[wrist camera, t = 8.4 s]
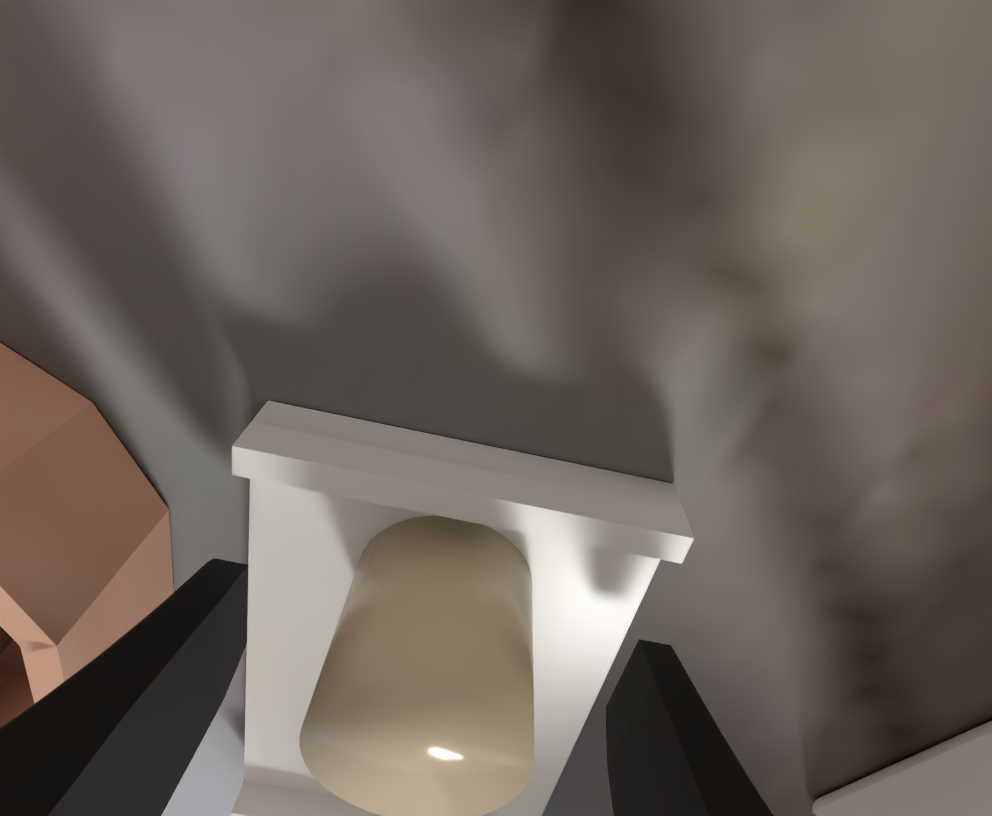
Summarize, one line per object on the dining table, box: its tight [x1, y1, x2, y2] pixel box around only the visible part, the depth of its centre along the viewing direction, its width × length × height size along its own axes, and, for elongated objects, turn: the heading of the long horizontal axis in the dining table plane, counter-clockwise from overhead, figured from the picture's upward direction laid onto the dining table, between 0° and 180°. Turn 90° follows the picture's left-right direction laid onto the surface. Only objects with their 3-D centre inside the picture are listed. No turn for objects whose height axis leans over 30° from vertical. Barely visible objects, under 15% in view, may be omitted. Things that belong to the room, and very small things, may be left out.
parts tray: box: [231, 401, 694, 816], centre depth 14 cm, size 12×8×2 cm, turn 169°
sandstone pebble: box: [299, 515, 534, 816], centre depth 11 cm, size 4×4×4 cm
